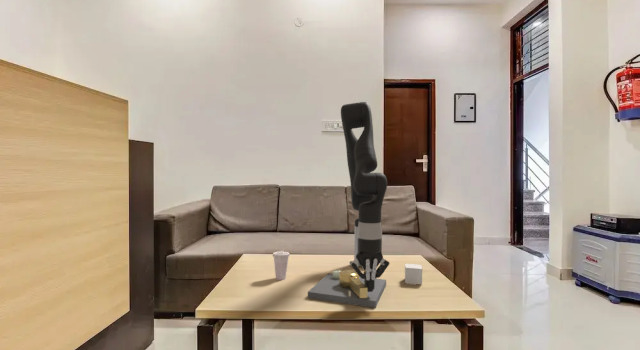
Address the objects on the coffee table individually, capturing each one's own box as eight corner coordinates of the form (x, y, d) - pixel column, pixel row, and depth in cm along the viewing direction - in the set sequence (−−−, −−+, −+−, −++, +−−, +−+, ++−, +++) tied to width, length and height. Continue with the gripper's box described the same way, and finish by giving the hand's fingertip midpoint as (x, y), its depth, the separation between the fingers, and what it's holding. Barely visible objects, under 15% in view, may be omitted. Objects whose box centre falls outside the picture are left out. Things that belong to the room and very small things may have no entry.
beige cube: (422, 285, 123) (422, 268, 122) (405, 283, 124) (405, 267, 124) (420, 280, 128) (421, 264, 128) (404, 278, 130) (404, 263, 130)
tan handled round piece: (336, 282, 117) (337, 270, 117) (355, 281, 119) (356, 269, 119) (352, 301, 100) (352, 287, 100) (374, 299, 101) (374, 286, 101)
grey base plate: (328, 278, 129) (328, 266, 129) (386, 285, 122) (386, 272, 122) (307, 297, 108) (308, 283, 108) (375, 307, 101) (375, 292, 101)
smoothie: (286, 281, 124) (286, 244, 124) (269, 280, 125) (270, 243, 125) (291, 276, 130) (291, 240, 130) (275, 275, 132) (276, 239, 132)
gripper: (385, 233, 110) (384, 285, 110) (346, 234, 107) (345, 288, 108) (394, 237, 102) (393, 294, 103) (352, 239, 100) (352, 296, 100)
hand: (369, 290), depth 105 cm, fingers closed
